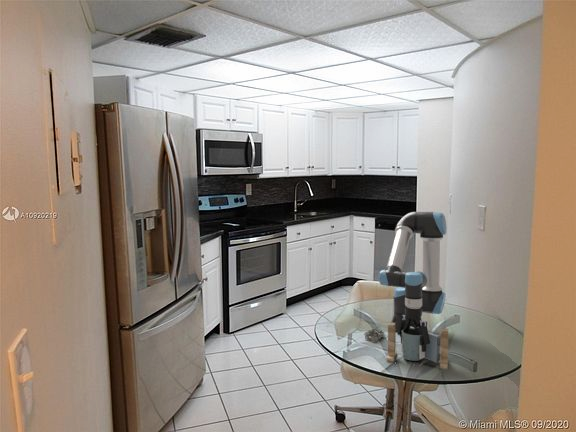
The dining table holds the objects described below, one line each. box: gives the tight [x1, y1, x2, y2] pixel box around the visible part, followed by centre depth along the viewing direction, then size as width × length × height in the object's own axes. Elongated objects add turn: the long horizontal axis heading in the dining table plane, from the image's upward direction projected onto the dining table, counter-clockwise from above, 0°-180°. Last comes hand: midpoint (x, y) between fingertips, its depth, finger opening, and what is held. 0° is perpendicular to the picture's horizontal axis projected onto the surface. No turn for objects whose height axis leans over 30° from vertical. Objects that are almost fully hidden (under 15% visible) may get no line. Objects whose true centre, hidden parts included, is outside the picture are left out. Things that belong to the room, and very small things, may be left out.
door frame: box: [386, 321, 449, 370], centre depth 199 cm, size 10×26×16 cm, turn 68°
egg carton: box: [363, 327, 385, 343], centre depth 229 cm, size 11×8×4 cm
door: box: [410, 327, 441, 364], centre depth 204 cm, size 3×19×12 cm, turn 32°
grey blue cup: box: [401, 328, 423, 362], centre depth 201 cm, size 10×10×12 cm
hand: (413, 354), depth 201 cm, fingers closed on grey blue cup, 9 cm apart
